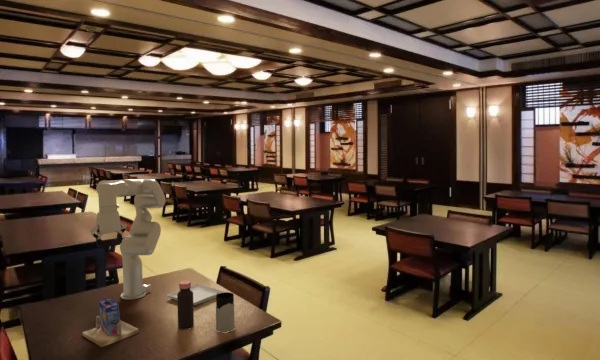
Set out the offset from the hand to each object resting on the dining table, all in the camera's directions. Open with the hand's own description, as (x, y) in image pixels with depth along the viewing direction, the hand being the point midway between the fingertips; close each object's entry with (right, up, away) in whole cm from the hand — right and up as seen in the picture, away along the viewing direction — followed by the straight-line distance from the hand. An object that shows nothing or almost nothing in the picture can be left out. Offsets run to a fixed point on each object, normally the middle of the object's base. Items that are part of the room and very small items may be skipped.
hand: (109, 244), depth 192 cm
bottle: (+40, -34, -12) cm, 54 cm away
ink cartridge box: (+10, -33, -20) cm, 40 cm away
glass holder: (+56, -34, -12) cm, 67 cm away
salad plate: (+35, -32, +21) cm, 52 cm away
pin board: (+10, -35, -20) cm, 41 cm away
